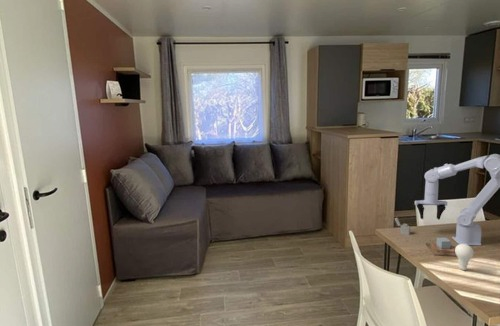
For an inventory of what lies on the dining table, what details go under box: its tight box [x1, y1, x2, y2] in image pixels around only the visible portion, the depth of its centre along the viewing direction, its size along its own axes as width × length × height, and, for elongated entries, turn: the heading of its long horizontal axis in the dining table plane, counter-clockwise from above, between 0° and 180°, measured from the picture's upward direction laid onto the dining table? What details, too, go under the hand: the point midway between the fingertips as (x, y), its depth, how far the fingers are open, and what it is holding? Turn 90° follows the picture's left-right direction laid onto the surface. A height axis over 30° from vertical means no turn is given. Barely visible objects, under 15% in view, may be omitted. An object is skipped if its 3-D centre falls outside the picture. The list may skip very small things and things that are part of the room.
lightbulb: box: [455, 244, 475, 271], centre depth 122 cm, size 6×6×11 cm
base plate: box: [425, 242, 458, 258], centre depth 140 cm, size 11×11×2 cm
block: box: [436, 237, 452, 249], centre depth 139 cm, size 4×4×4 cm
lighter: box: [394, 217, 411, 236], centre depth 160 cm, size 7×2×8 cm, turn 55°
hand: (429, 218), depth 156 cm, fingers open, 7 cm apart
